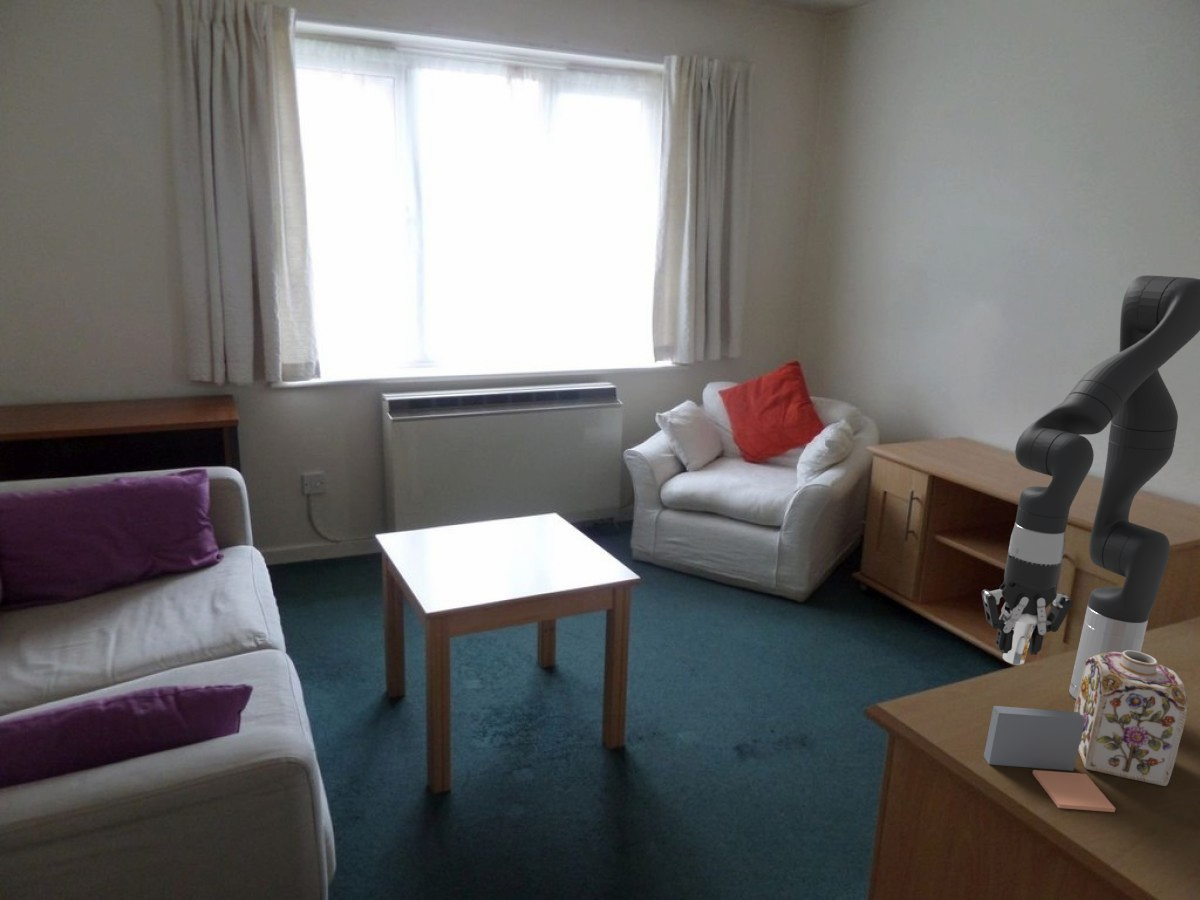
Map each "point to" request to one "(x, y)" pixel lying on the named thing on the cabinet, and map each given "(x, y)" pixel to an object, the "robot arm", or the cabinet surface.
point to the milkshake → (1020, 638)
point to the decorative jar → (1131, 716)
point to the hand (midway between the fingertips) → (1016, 651)
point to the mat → (1073, 791)
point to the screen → (1034, 738)
